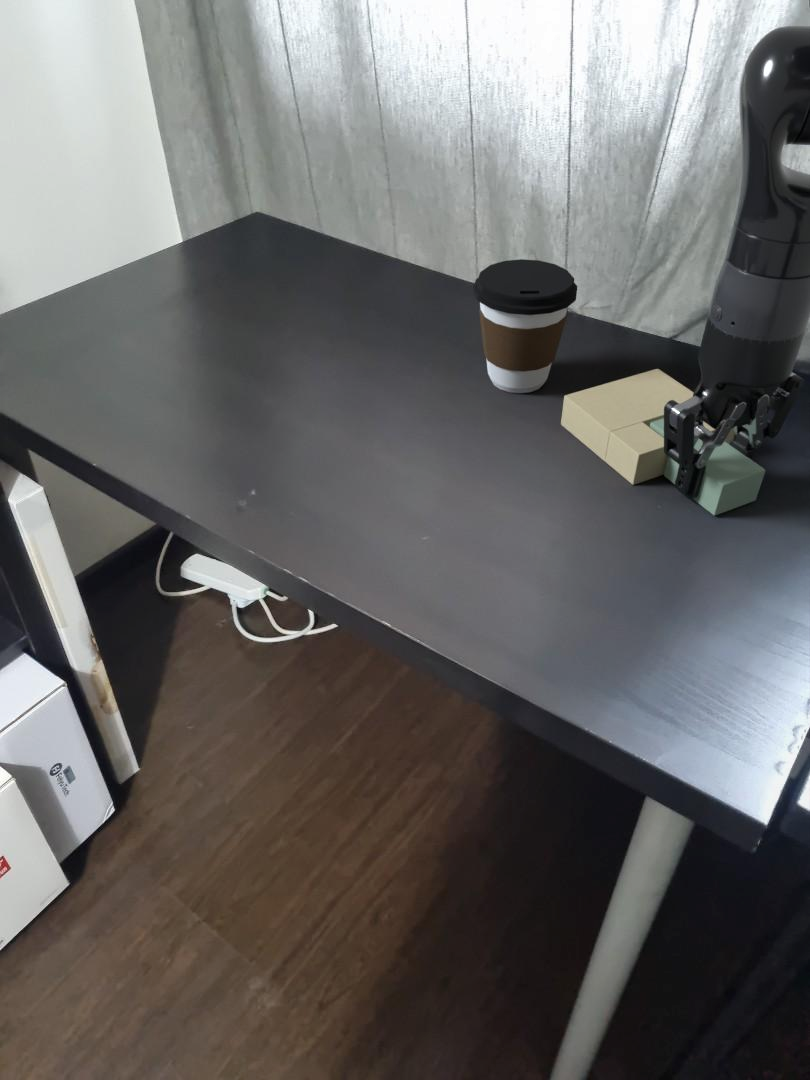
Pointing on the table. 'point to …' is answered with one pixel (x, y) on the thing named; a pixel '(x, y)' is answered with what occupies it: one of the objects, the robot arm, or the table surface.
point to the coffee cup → (522, 320)
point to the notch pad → (626, 422)
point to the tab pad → (721, 476)
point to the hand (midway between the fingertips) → (710, 484)
